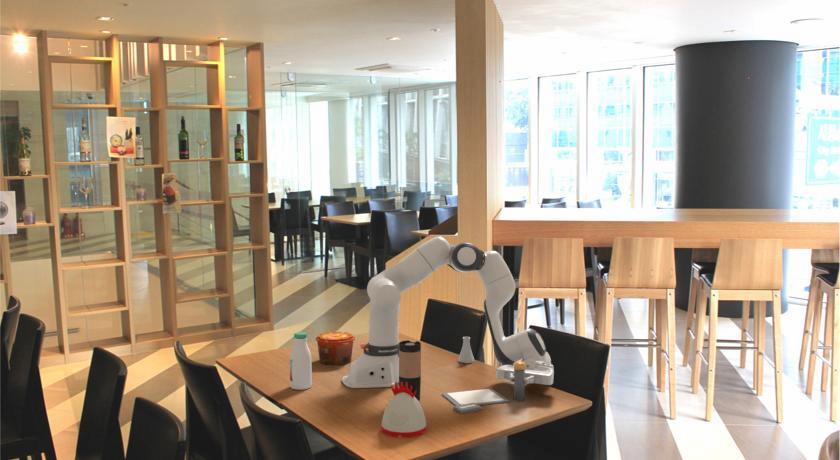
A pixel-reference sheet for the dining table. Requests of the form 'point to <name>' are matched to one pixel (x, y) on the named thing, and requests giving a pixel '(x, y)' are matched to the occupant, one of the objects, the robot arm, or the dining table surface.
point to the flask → (466, 352)
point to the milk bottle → (300, 363)
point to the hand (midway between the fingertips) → (518, 380)
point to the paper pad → (475, 397)
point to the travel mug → (410, 366)
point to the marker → (519, 381)
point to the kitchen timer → (403, 414)
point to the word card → (467, 408)
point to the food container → (335, 347)
